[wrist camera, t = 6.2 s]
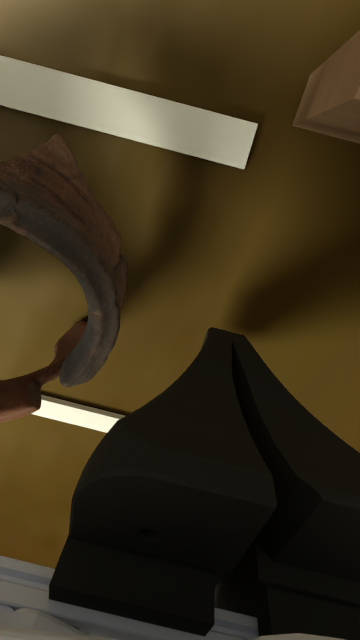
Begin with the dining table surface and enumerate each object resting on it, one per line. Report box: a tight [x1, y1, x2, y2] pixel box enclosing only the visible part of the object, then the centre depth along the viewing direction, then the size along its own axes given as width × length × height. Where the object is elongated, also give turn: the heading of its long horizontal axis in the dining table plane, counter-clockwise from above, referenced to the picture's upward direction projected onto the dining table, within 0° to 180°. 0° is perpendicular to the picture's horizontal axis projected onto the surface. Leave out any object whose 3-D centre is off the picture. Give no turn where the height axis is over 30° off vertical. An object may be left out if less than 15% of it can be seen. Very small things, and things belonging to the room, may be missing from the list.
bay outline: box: [0, 55, 258, 433], centre depth 12 cm, size 14×14×1 cm
